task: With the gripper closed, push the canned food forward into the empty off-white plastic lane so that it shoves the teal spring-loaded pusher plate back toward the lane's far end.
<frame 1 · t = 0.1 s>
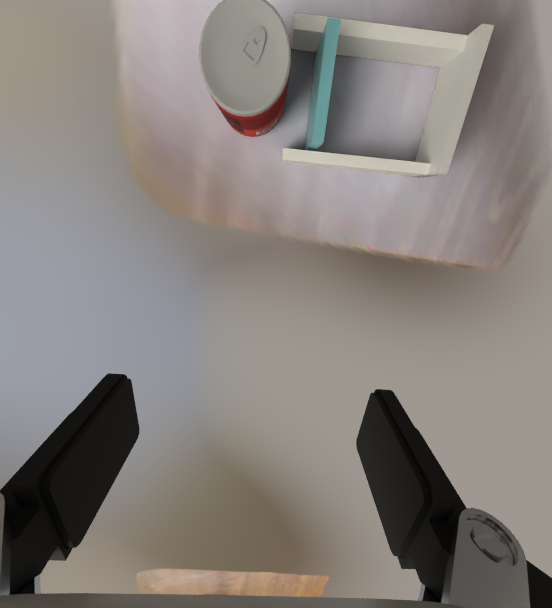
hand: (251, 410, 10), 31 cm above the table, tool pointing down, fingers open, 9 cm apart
pusher: (319, 97, 28), point 4 cm above the table, slide at 0.0 cm
lane: (361, 112, 32), on the table
canned food: (253, 101, 32), on the table
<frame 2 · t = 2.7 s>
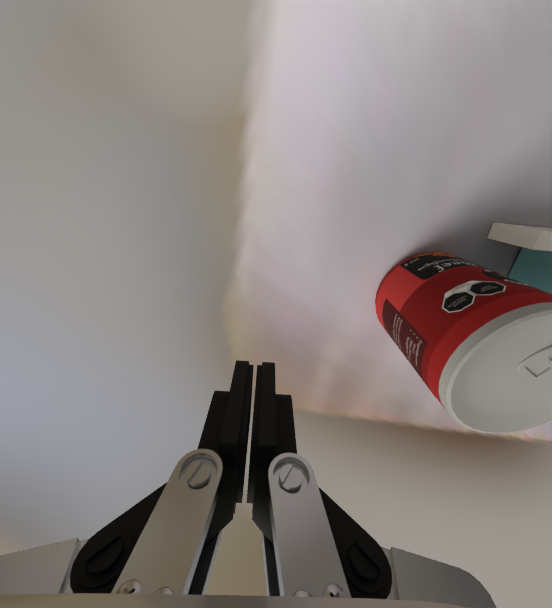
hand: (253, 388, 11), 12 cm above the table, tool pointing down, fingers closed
pusher: (539, 321, 19), point 4 cm above the table, slide at 0.0 cm
canned food: (415, 293, 23), on the table
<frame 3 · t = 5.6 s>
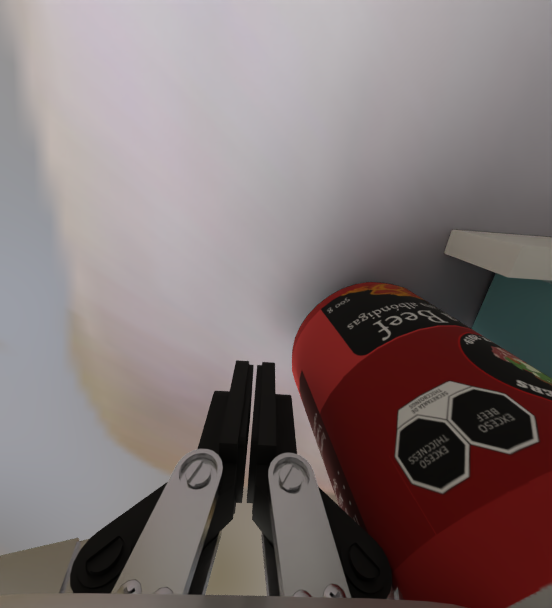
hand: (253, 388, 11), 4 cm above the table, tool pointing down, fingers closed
pusher: (527, 385, 12), point 4 cm above the table, slide at 0.0 cm
canned food: (351, 339, 15), on the table
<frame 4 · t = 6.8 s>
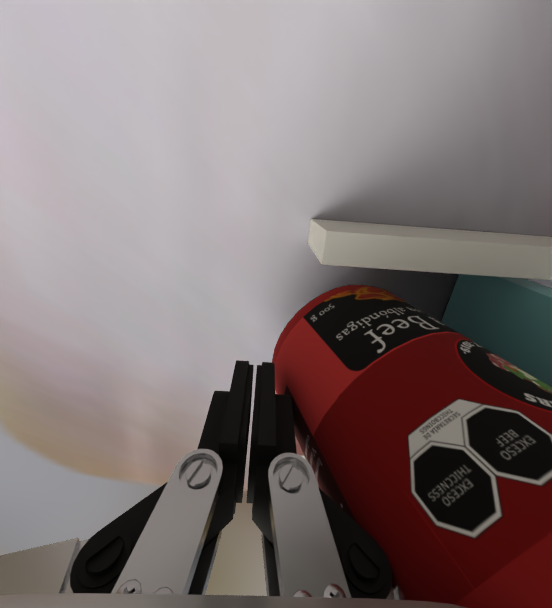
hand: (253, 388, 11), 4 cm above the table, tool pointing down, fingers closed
pusher: (488, 383, 12), point 4 cm above the table, slide at 5.2 cm, touching canned food
lane: (452, 340, 16), on the table
canned food: (332, 343, 14), point 1 cm above the table, touching gripper, pusher
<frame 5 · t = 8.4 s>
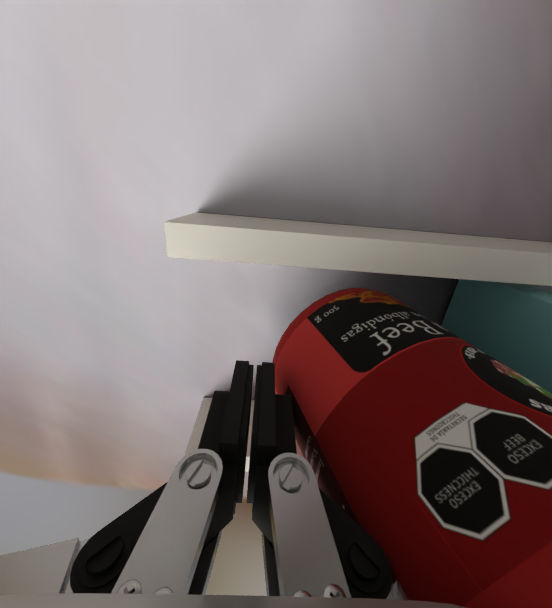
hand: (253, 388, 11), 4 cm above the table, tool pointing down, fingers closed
pusher: (488, 387, 12), point 4 cm above the table, slide at 10.9 cm
lane: (361, 338, 15), on the table
canned food: (332, 346, 14), point 1 cm above the table, touching gripper
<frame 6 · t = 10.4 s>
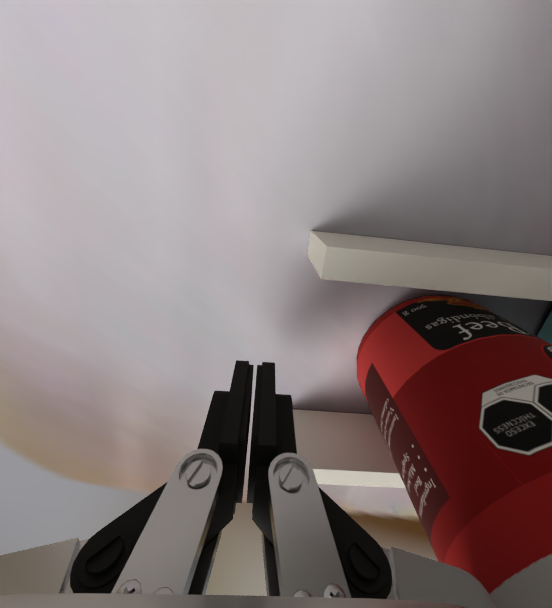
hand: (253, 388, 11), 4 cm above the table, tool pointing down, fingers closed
lane: (448, 354, 16), on the table
canned food: (415, 349, 16), resting in lane
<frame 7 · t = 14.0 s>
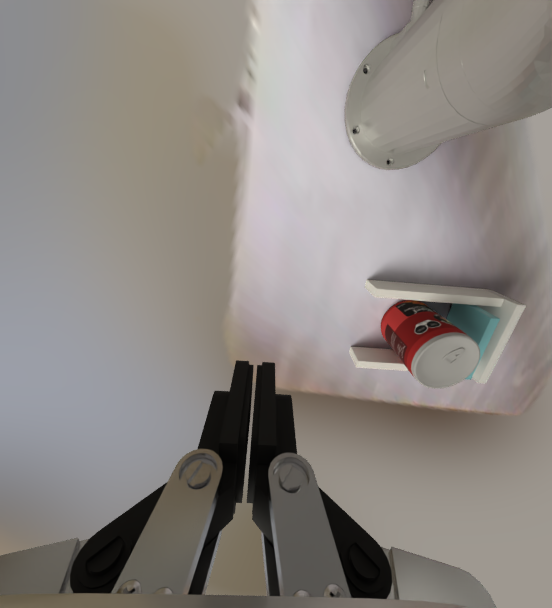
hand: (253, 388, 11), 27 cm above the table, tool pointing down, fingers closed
pusher: (462, 337, 38), point 4 cm above the table, slide at 11.0 cm
lane: (416, 322, 41), on the table
canned food: (403, 320, 41), resting in lane
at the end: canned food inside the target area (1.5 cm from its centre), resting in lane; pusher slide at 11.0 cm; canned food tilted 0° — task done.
